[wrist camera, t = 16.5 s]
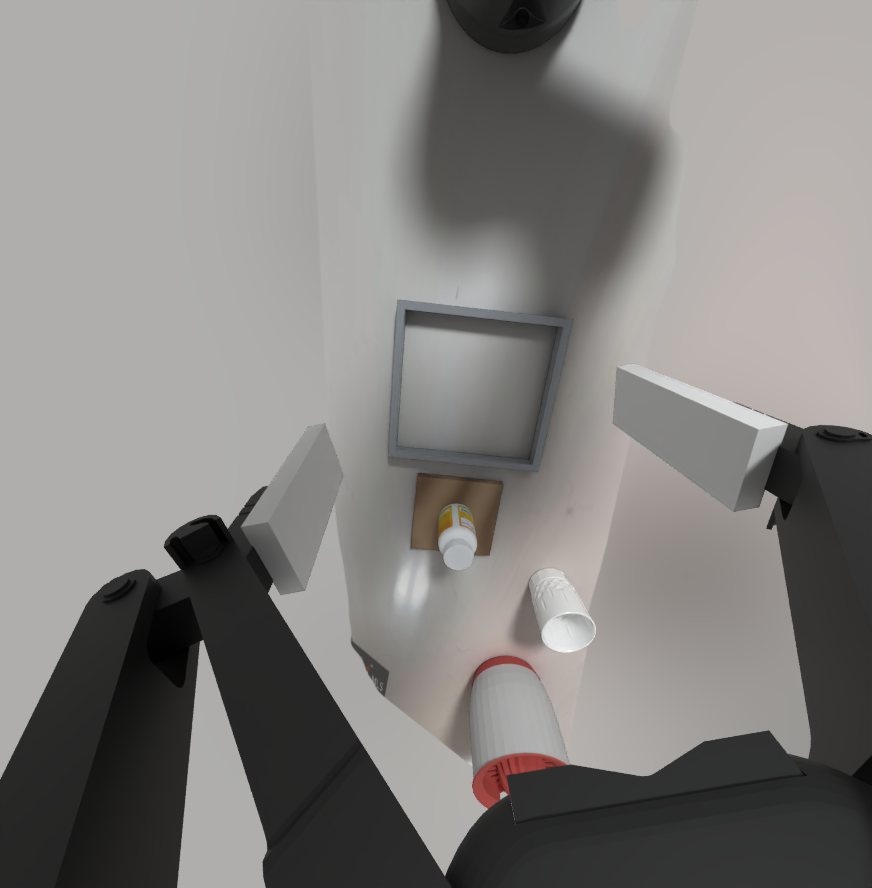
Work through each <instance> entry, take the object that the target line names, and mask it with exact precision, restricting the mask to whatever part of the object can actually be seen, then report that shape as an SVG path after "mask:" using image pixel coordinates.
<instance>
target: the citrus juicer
mask: <svg viewBox="0 0 872 888" xmlns="http://www.w3.org/2000/svg"><path fill="white" fill-rule="evenodd" d="M469 715H470V735H471V749H472V763H473V777H474V779H473V784H472V788H473V793H474V795H475V797H476V798H477V800H478V801H479V802H480V803H481V804H482V805H484V806H485V807H487V808H488V809H489V808H490V807H491V806H493V805H494V804H495V803H496V802H498V801H499V800H500V793H501V792H503V791H505V792H506V793H507V794H508V795H509V794H510V792H509V787H508V781H507V776H506V775H511V774H517V773H523V772H529V771H534V770H540V769H546V768H552V767H558V766H564V765H570V762H569V759H568V755H567V752H566V748H565V745H564V742H563V738H562V735H561V731H560V728H559V725H558V721H557V718H556V715H555V712H554V709H553V706H552V703H551V700H550V698H549V696H548V694H547V692H546V690H545V688H544V686H543V684H542V683H541V681H540V678H539V677H538V675H537V674H536V672H535V671H534V670H533V668H532V667H531V666H530V665H529V664H528V663H527V662H526V661H524V660H522V659H519V658H517V657H512V656H501V657H496V658H493V659H489V660H488V661H486V662H485V663H483V664H482V665H481V666H480V667H479V668H478V670H477V672H476V674H475V677H474V681H473V684H472V693H471V699H470V711H469ZM510 799H511V797H510Z"/></svg>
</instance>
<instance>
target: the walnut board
mask: <svg viewBox="0 0 872 888" xmlns="http://www.w3.org/2000/svg"><path fill="white" fill-rule="evenodd" d="M502 488H503V483H502V481H492V480H482V479H472V478H463V477H453V476H443V475H433V474H423V473H418V477H417V488H416V498H415V509H414V519H413V530H412V541H411V548H416V549H426V550H437V551H440V550H439V546H438V522H439V514H440V512H441V510H442V509H443V508H444V507H446V506H448V505H450V504H455V503H457V504H462V505H464V506H466V507H467V508H468V509H469V510H470V511H471V513H472V516H473V521H474V527H475V533H476V539H477V548H476V551H475V553H474V554H478V555H489V556H490V550H491V545H492V540H493V535H494V530H495V525H496V519H497V514H498V509H499V504H500V499H501V494H502Z"/></svg>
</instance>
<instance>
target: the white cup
mask: <svg viewBox="0 0 872 888" xmlns="http://www.w3.org/2000/svg"><path fill="white" fill-rule="evenodd" d="M529 589H530V593H531V596H532V603H533V607H534V611H535V615H536V619H537V622H538V626H539V630H540V633H541V637H542V640H543V642H544V644H545V645H546V646H547V647H548V648H550V649H552V650H554V651H557V652H562V653H569V652H575V651H578V650H581V649H583V648H585V647H586V646H588V645H589V644H590V642H592V640H593V639H594V637H595V634H596V626H595V623H594V622H593V620H592V618H591V616H590V615H589V613H588V611H587V609H586V608H585V606H584V604H583V602H582V601H581V599H580V597H579V596H578V594H577V593H576V591H575V589H574V588H573V586H572V585H571V583H570V582H569V580H568V578H567V577H566V575H565V574H564V573H563V572H562V571H560V570H557V569H555V568H545V569H542V570H540V571H537V572H536V573H535V574H534V575H533V576H532V577H531V579H530V582H529Z"/></svg>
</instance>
